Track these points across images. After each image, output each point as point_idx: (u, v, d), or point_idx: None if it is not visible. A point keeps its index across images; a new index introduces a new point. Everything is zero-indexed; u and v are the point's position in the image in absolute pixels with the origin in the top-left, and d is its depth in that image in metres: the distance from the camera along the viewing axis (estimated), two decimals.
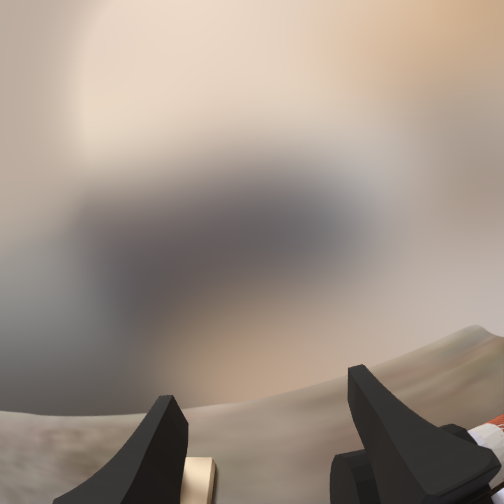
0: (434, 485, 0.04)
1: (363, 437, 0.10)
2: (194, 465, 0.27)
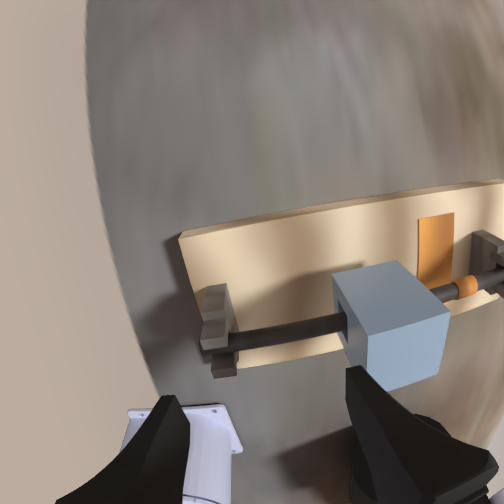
0: (430, 486, 0.04)
1: (361, 438, 0.10)
2: None
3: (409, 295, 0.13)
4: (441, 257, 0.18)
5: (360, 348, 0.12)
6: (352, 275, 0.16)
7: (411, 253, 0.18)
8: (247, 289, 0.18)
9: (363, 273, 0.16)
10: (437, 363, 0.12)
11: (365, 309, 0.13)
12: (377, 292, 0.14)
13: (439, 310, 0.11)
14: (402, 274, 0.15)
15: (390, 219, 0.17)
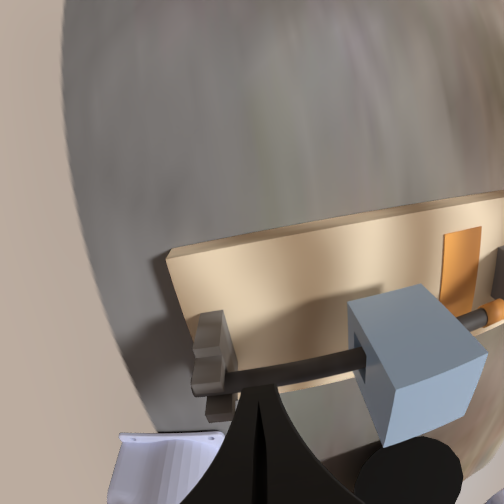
0: None
1: None
2: None
3: (440, 332, 0.10)
4: (465, 276, 0.15)
5: (382, 397, 0.10)
6: (372, 304, 0.13)
7: (434, 273, 0.15)
8: (247, 317, 0.16)
9: (384, 300, 0.13)
10: (465, 406, 0.09)
11: (390, 351, 0.10)
12: (403, 327, 0.11)
13: (476, 351, 0.08)
14: (429, 303, 0.12)
15: (414, 235, 0.14)
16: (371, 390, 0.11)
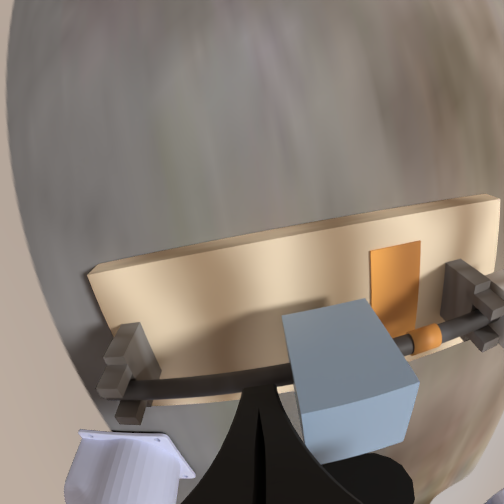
0: None
1: None
2: None
3: (369, 355, 0.10)
4: (403, 294, 0.15)
5: (300, 417, 0.10)
6: (305, 319, 0.13)
7: (361, 292, 0.15)
8: (163, 329, 0.16)
9: (319, 316, 0.13)
10: (402, 432, 0.09)
11: (308, 372, 0.10)
12: (330, 346, 0.11)
13: (405, 380, 0.08)
14: (368, 320, 0.12)
15: (330, 252, 0.14)
16: None
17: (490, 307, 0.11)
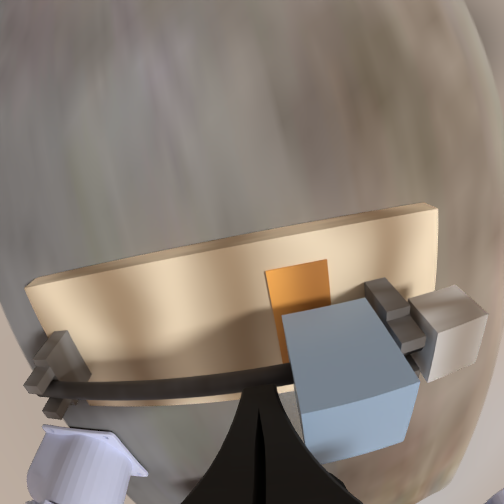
0: None
1: None
2: None
3: (369, 354, 0.10)
4: None
5: (300, 417, 0.10)
6: (305, 318, 0.13)
7: (262, 311, 0.15)
8: (86, 338, 0.16)
9: (319, 316, 0.13)
10: (402, 432, 0.09)
11: (308, 372, 0.10)
12: (330, 346, 0.11)
13: (405, 379, 0.08)
14: (368, 320, 0.12)
15: (222, 272, 0.15)
16: (298, 407, 0.11)
17: (400, 339, 0.11)
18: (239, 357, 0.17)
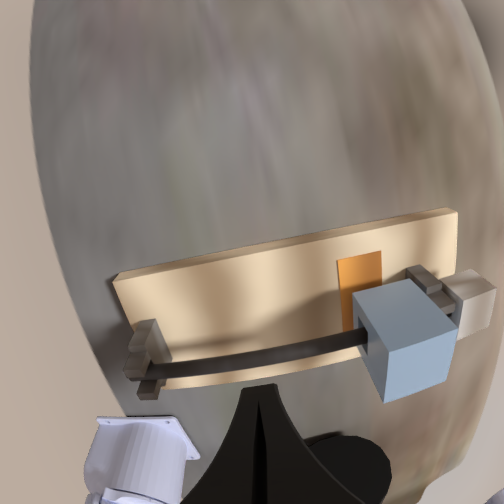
0: None
1: None
2: None
3: (422, 314, 0.14)
4: None
5: (380, 361, 0.14)
6: (371, 294, 0.17)
7: (332, 292, 0.19)
8: (174, 324, 0.20)
9: (380, 292, 0.17)
10: (445, 371, 0.13)
11: (385, 327, 0.14)
12: (394, 310, 0.15)
13: (448, 327, 0.12)
14: (415, 293, 0.16)
15: (305, 262, 0.19)
16: (372, 359, 0.15)
17: (438, 305, 0.15)
18: (310, 331, 0.21)
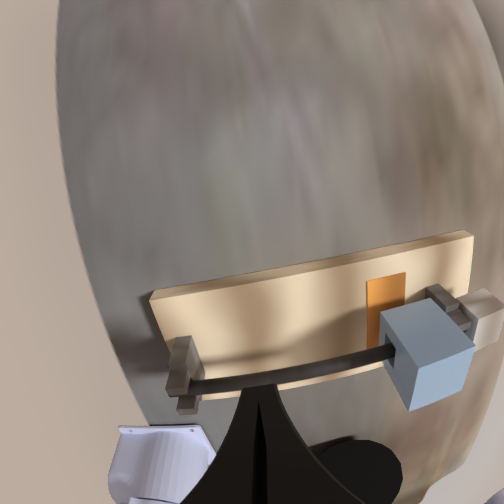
0: None
1: None
2: None
3: (444, 332, 0.15)
4: None
5: (408, 375, 0.15)
6: (397, 313, 0.18)
7: (360, 310, 0.20)
8: (209, 340, 0.21)
9: (405, 310, 0.18)
10: (462, 382, 0.14)
11: (413, 345, 0.15)
12: (419, 329, 0.16)
13: (467, 345, 0.13)
14: (437, 312, 0.17)
15: (338, 283, 0.20)
16: (399, 372, 0.16)
17: (456, 323, 0.16)
18: (337, 345, 0.21)
